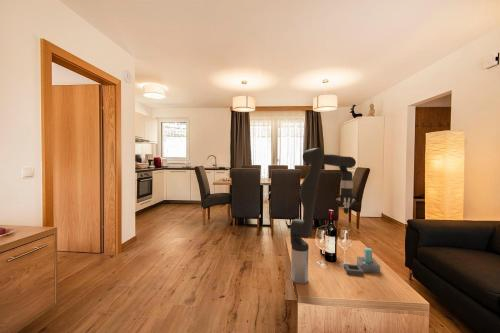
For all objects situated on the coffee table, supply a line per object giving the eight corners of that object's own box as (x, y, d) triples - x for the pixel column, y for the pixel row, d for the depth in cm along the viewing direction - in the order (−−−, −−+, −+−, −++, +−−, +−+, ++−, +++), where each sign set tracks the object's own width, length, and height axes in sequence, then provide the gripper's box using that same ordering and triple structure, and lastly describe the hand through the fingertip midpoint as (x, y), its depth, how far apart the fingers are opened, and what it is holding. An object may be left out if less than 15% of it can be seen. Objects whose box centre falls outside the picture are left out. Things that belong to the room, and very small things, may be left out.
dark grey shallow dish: (363, 275, 138) (363, 271, 138) (347, 274, 140) (347, 270, 140) (359, 269, 147) (359, 265, 147) (344, 267, 149) (344, 263, 149)
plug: (371, 269, 147) (372, 250, 147) (365, 269, 147) (365, 249, 147) (370, 267, 150) (370, 248, 150) (363, 266, 151) (364, 247, 151)
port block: (379, 273, 142) (380, 265, 142) (361, 271, 144) (362, 263, 144) (373, 265, 154) (373, 257, 154) (356, 263, 156) (357, 255, 156)
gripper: (336, 187, 156) (336, 214, 156) (358, 188, 153) (358, 215, 153) (335, 186, 163) (334, 211, 163) (355, 187, 161) (355, 212, 161)
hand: (346, 213), depth 158 cm, fingers closed
